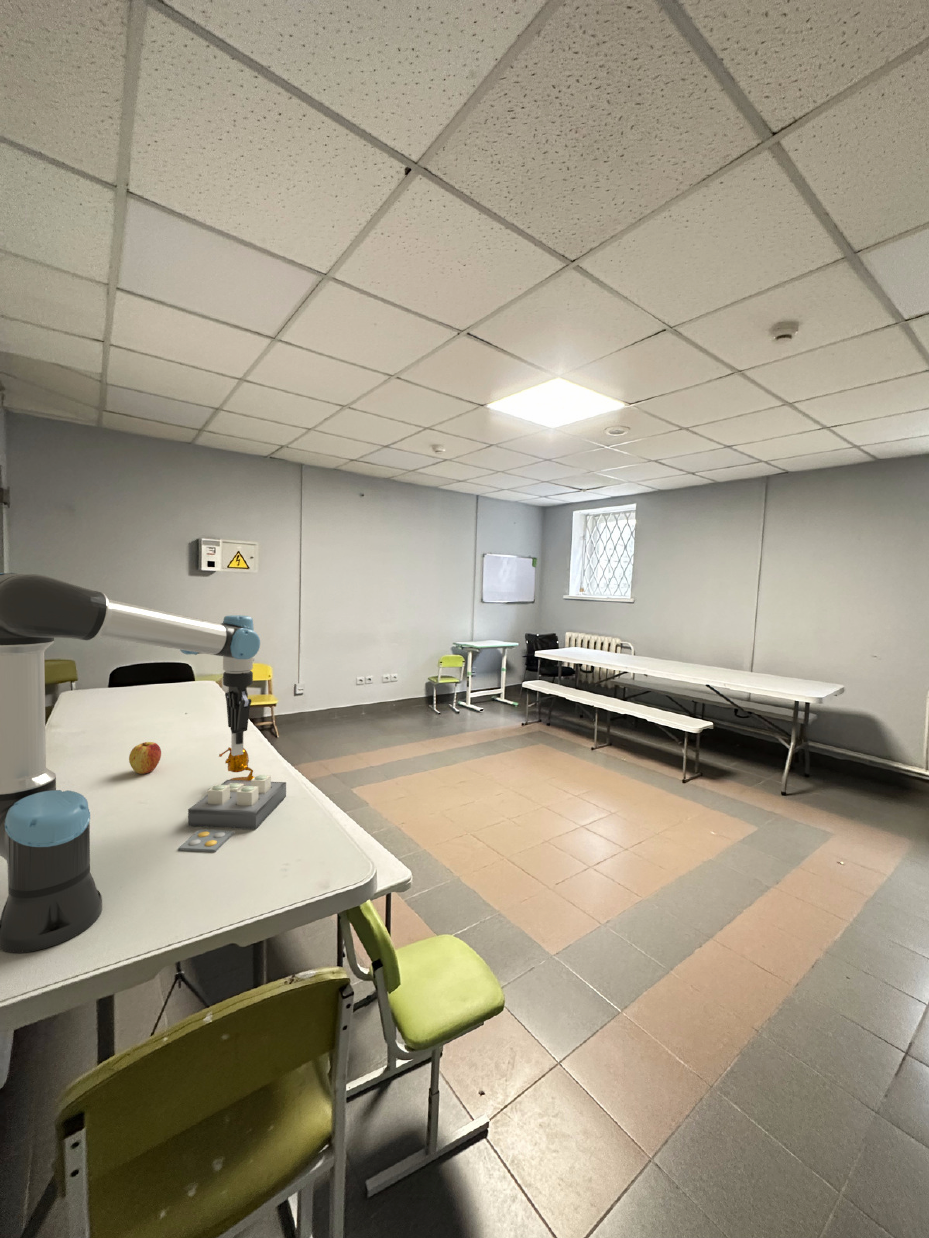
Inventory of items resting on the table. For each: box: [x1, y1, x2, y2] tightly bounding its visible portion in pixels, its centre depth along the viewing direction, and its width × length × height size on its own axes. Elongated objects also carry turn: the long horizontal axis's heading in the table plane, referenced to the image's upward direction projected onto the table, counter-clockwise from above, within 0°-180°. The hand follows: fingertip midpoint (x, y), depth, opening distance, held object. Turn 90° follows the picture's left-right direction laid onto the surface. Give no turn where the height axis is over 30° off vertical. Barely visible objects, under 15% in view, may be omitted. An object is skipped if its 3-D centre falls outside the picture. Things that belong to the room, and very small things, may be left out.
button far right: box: [251, 774, 272, 794], centre depth 143 cm, size 4×4×4 cm
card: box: [177, 828, 235, 853], centre depth 123 cm, size 9×9×1 cm
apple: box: [128, 741, 162, 775], centre depth 165 cm, size 9×9×10 cm
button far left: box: [229, 783, 244, 792], centre depth 144 cm, size 4×4×4 cm
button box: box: [187, 779, 287, 830], centre depth 140 cm, size 20×18×4 cm
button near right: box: [237, 786, 258, 806], centre depth 135 cm, size 4×4×4 cm
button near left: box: [207, 784, 230, 805], centre depth 136 cm, size 4×4×4 cm
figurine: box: [218, 747, 255, 781], centre depth 158 cm, size 8×11×12 cm
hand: (237, 754), depth 140 cm, fingers closed
